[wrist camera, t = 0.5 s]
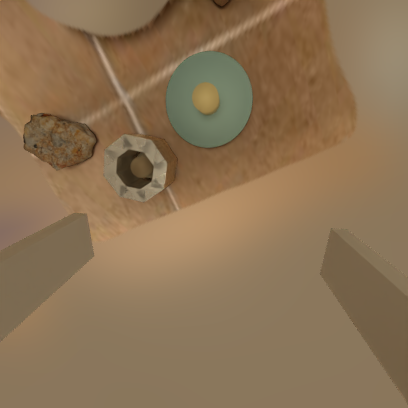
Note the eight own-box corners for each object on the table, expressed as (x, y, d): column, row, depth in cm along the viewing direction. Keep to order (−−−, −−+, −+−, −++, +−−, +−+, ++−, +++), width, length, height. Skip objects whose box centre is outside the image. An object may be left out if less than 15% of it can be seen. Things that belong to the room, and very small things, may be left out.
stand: (132, 160, 34) (120, 163, 30) (152, 145, 33) (142, 146, 29) (147, 182, 35) (138, 187, 31) (168, 168, 34) (160, 172, 30)
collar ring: (113, 156, 34) (91, 159, 28) (154, 124, 32) (139, 122, 26) (146, 199, 36) (130, 211, 30) (186, 172, 34) (178, 179, 28)
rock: (39, 158, 36) (84, 181, 34) (0, 149, 30) (52, 177, 29) (57, 111, 35) (104, 133, 34) (20, 93, 29) (75, 118, 28)
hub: (153, 92, 30) (137, 82, 25) (222, 35, 27) (221, 9, 22) (198, 161, 33) (192, 167, 27) (266, 116, 30) (275, 112, 24)
